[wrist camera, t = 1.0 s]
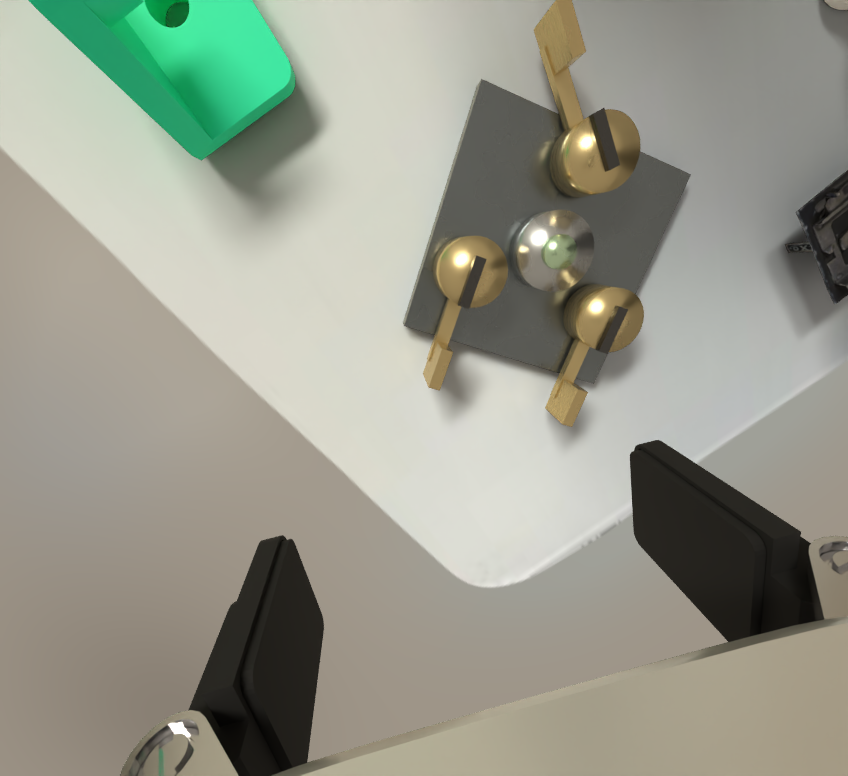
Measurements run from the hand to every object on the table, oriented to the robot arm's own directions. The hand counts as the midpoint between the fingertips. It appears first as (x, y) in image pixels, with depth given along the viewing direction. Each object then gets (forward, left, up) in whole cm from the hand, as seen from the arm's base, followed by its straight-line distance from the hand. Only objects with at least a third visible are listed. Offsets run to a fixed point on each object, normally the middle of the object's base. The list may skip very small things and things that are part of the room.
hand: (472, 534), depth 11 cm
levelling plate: (-10, +7, -22) cm, 25 cm away
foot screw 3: (-4, +12, -21) cm, 24 cm away
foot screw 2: (-18, +5, -21) cm, 28 cm away
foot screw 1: (-4, +2, -21) cm, 21 cm away
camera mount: (-14, -18, -22) cm, 32 cm away
